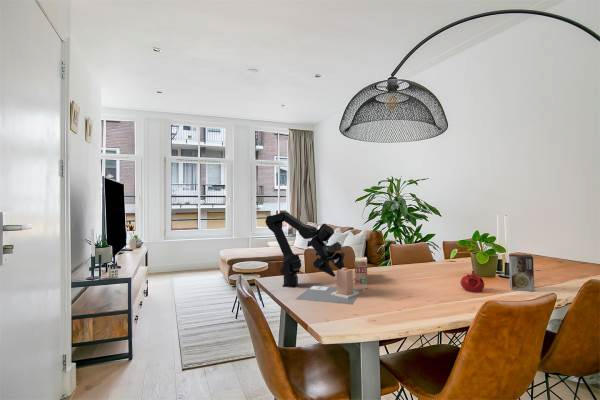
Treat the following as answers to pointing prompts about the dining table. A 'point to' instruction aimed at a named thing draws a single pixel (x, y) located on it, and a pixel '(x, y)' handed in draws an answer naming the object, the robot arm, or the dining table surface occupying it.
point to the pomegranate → (472, 282)
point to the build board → (328, 295)
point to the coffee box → (521, 272)
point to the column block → (344, 281)
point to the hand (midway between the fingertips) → (340, 274)
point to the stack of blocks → (361, 270)
